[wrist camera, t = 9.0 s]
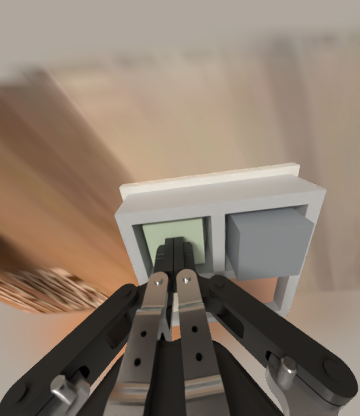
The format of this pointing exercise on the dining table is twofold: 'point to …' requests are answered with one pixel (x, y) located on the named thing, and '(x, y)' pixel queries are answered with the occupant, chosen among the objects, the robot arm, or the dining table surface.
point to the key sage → (176, 235)
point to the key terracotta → (259, 288)
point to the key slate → (267, 242)
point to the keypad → (215, 216)
